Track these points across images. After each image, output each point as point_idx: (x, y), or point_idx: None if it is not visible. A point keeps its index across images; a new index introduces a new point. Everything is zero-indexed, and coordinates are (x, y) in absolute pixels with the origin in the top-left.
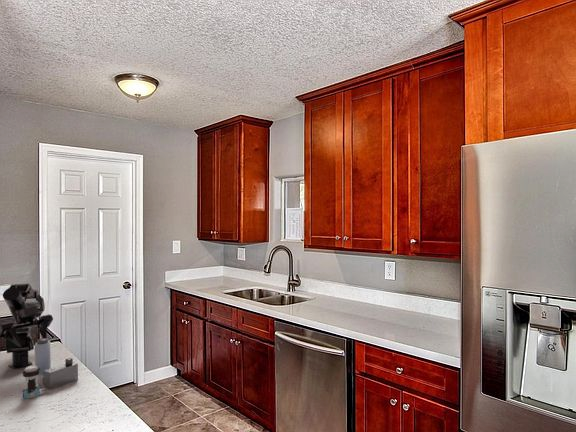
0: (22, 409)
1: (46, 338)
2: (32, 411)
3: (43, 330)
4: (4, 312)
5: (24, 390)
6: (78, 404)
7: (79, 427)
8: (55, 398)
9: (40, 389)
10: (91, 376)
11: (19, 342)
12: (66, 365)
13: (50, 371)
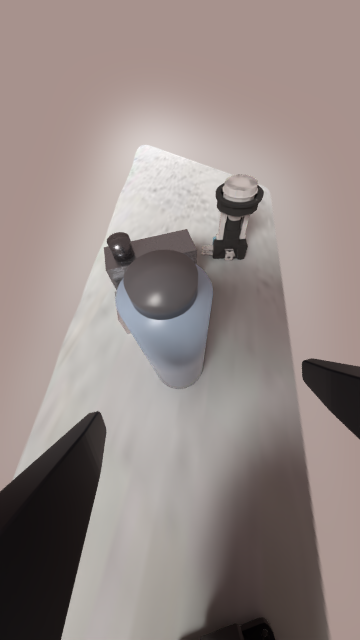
0: None
1: (126, 290)
2: None
3: (19, 528)
4: None
5: (244, 239)
6: (169, 196)
7: (189, 159)
8: (190, 226)
9: (210, 248)
10: (89, 282)
11: (338, 366)
12: (133, 250)
13: (183, 234)
